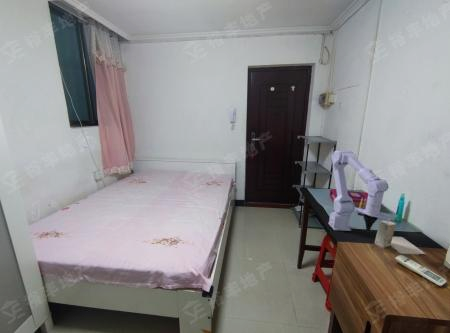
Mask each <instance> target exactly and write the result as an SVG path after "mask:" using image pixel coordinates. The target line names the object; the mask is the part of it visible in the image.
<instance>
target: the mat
mask: <svg viewBox="0 0 450 333" xmlns="http://www.w3.org/2000/svg"><path fill="white" fill-rule="evenodd" d="M389 247H391V248H393V249H394V250H395V251H396V250H397V251H396V252H397V253H398V254H401V255H419V254H425V255H426V253H425V252H424V251H423V250H421V249H419V248H418V247H417V246H415V245H414V244H413V243H412V242H410V241H409V240H407V239H406V238H404V237H402V236H393V237H392V241H391V245H390V246H389Z"/></svg>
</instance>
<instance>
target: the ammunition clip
mask: <svg viewBox="0 0 450 333" xmlns="http://www.w3.org/2000/svg"><path fill="white" fill-rule="evenodd" d="M362 206H363V207H362ZM359 208H361V209H366V198H365V200H364V203H363V198H362V199H361V202H360V206H359ZM357 215H358V216H361V217H364V214H362V213H358V212H357Z"/></svg>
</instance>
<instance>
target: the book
mask: <svg viewBox="0 0 450 333" xmlns="http://www.w3.org/2000/svg"><path fill="white" fill-rule="evenodd" d="M329 190H330V191H329V198H330V197H331V198H330V199H332V200H333V201H332V200H331V201H332V203H333V202H334V199H335V198H336V197H337V191H336V188H331V189H329ZM347 191H348V196H349V197H351V198H352V200H353V203H354V205H355V208H356V207H357V208H359V206H360V202H361V199H362V198H363V203H364V200H365V198H366V204H367V199H368V192H364V191H363V192H362V191H354V190H347ZM342 202H345V201H342ZM362 207H363V206H362Z"/></svg>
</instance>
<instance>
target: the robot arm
mask: <svg viewBox="0 0 450 333" xmlns="http://www.w3.org/2000/svg"><path fill="white" fill-rule="evenodd" d="M331 161H332V170H333V178H334V182H335V184H334V185H335V189H336V191H337V197H336V198H335V199H334V203H333V206H332V207H333V210H334V211H333V212H331V213H330V214H329V221H328V225H329V226H330V227H331V228H332V229H333V230H334V231H349V232H350V231H351V232H352V229H351V228H350V227H349V224H350V218H351V215H352V214H353V213H357V214H358V213H362V214H364V216H363V220H364V222H365V230H366V231H371V229H372V227H373V225H374V224H375V223H376V221H377V220H381V221H386V222H390V221H391V217H390V216H388V215H385V214H382V213H380V211H381V208H382V207H381V206H382V202H383V198H384V193H385V192H387V191H388V190H389V183H388V182H387V180H385V179H384V178H383V179H382V178H380V177H379V176H378V175H376V174H375V173H374V172H373V170H372V168H368V167H367V168H366V167H365V166H364V165H363V164H362V163H361V161H360V160H359V159H358V158H357V157H356V154H355V153H354V151H352V150H334V152H333V153H332V155H331ZM348 165H350V166H351V167H352V168H353V169H354V170H355V171H357V173H358V176H359V178H360V179H361V180H362V181H363V182H364V183H365V184H366V188H367V193H368V199H367V204H366V209H361V208H357V207H356V208H355V205H354V203H353V200H352V198H351V197H349V196H348V191H349V190H348V186H347V180H346V179H347V178H346V175H345V169H344V168H345V167H347V166H348ZM342 201H345V202H342Z"/></svg>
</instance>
